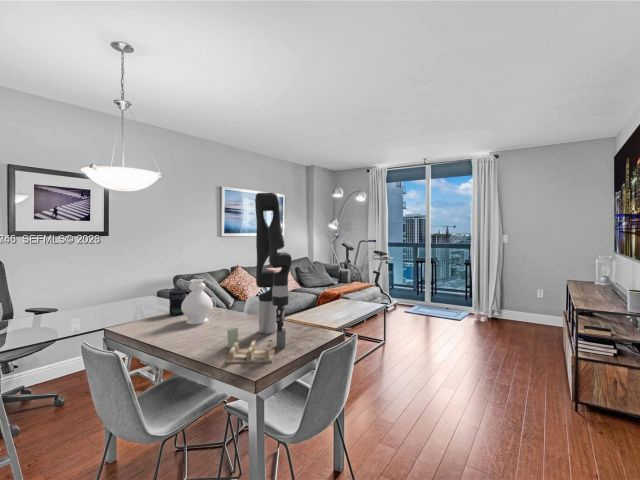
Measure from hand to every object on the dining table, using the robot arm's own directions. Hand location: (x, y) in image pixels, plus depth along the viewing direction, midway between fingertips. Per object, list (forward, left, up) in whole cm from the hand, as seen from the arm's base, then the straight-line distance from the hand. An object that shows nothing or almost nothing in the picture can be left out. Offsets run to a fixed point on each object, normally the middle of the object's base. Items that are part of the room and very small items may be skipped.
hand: (280, 328), depth 159 cm
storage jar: (-62, -71, -9) cm, 94 cm away
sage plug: (-2, -23, -9) cm, 24 cm away
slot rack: (+11, -12, -9) cm, 18 cm away
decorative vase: (-45, -53, -9) cm, 70 cm away
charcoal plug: (-1, 0, -9) cm, 9 cm away
